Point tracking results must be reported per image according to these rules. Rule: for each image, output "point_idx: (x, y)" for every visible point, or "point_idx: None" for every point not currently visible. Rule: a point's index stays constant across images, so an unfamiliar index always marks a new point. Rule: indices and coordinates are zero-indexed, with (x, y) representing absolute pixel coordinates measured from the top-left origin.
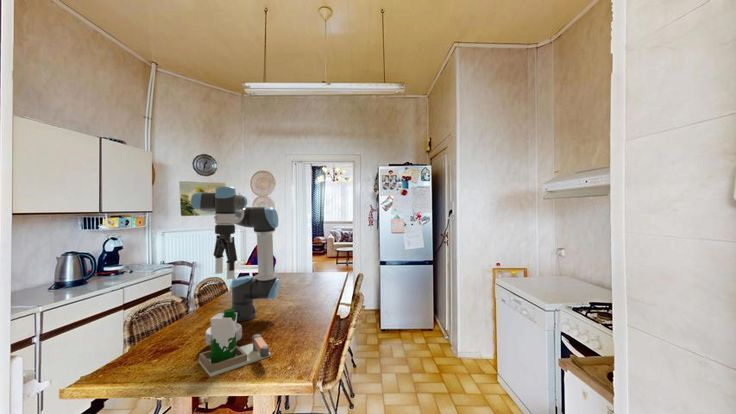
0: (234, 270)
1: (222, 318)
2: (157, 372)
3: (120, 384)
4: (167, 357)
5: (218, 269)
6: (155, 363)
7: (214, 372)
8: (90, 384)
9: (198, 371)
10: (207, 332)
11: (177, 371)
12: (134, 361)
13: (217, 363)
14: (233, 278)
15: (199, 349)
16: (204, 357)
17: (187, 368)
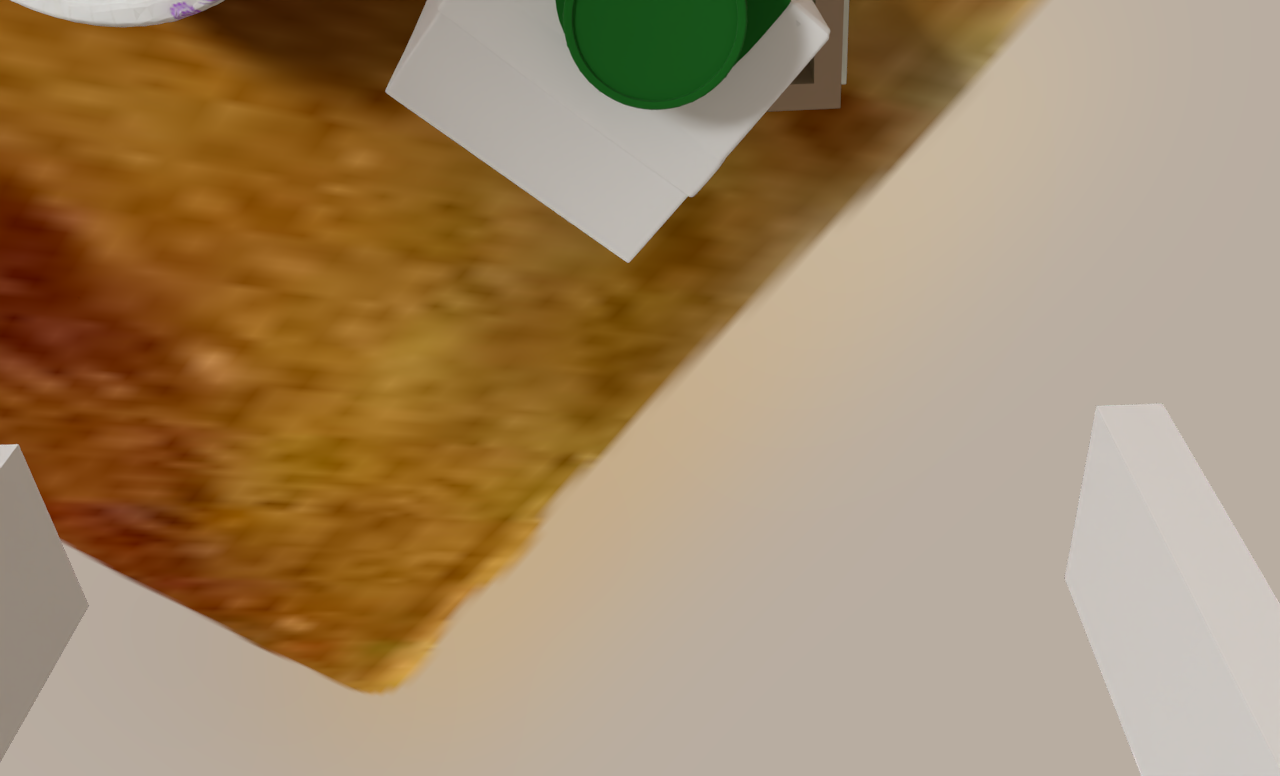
0: (1277, 600)
1: (737, 126)
2: (466, 376)
3: (510, 553)
4: (199, 286)
5: (1, 651)
6: (280, 370)
7: (847, 47)
8: (399, 661)
9: None
10: (110, 11)
11: (545, 264)
12: (155, 475)
13: (832, 36)
14: (1153, 431)
15: None
16: None
17: None
